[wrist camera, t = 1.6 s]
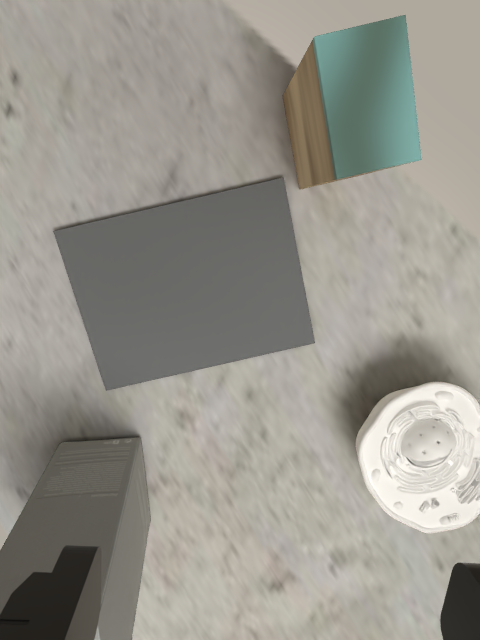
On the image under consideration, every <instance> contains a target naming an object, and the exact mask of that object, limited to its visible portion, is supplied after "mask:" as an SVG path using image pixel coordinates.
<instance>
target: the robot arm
mask: <svg viewBox="0 0 480 640" xmlns="http://www.w3.org/2000/svg"><path fill="white" fill-rule="evenodd" d="M101 561H102V551H101V547H97V546H73V545H66V546H65V547H64V548H63V549H62V551H61V553H60V555H59V558H58V560H57V562H56V564H55V566H54V569H53V571H52V573H49V572H33V573H32V574H31V575H30V576H29V577H28V578H27V579H26V580H25V581H24V582H23V583H22V584H21V585H20V586H19V587H18V588H17V589H16V590H15V591H13V592H12V594H11V595H10V597H9V599H8V601H7V603H6V605H5V607H4V608H3V610H2V612H1V614H0V640H94V639H95V635H96V631H97V626H98V621H99V614H100V606H101ZM440 622H441V631H442V636H443V640H480V564H477V563H457V564H455V565H454V567H453V570H452V573H451V577H450V581H449V585H448V589H447V593H446V597H445V600H444V604H443V608H442V612H441V619H440Z"/></svg>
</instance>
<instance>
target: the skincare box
mask: <svg viewBox="0 0 480 640" xmlns="http://www.w3.org/2000/svg"><path fill="white" fill-rule="evenodd" d="M150 521H151V519H150V510H149V501H148V493H147V484H146V476H145V467H144V459H143V451H142V444H141V438H139V437H138V438H121V439H110V440H96V441H81V442H63V443H60V444H59V446H58V447H57V449H56V451H55V453H54V455H53V456H52V458H51V460H50V462H49V464H48V466H47V467H46V469H45V471H44V473H43V475H42V477H41V478H40V480H39V482H38V484H37V485H36V487H35V489H34V491H33V493H32V495H31V496H30V498H29V500H28V502H27V503H26V505H25V507H24V509H23V511H22V512H21V514H20V516H19V518H18V520H17V521H16V523H15V525H14V527H13V529H12V530H11V532H10V534H9V536H8V538H7V539H6V541H5V543H4V545H3V547H2V549H1V550H0V614H1V612H2V610H3V608H4V607H5V605H6V603H7V601H8V599H9V597H10V595H11V594H12V592H13V591H15V590H16V589H17V588H18V587H19V586H20V585H21V584H22V583H23V582H24V581H25V580H26V579H27V578H28V577H29V576H30V575H31V574H32V573H33V572H49V573H52V571H53V569H54V566H55V564H56V562H57V560H58V558H59V555H60V553H61V551H62V549H63V548H64V547H65V546H66V545H73V546H97V547H101V551H102V561H101V606H100V614H99V621H98V626H97V631H96V635H95V639H94V640H132V633H133V627H134V621H135V615H136V608H137V602H138V596H139V589H140V583H141V576H142V570H143V563H144V557H145V550H146V544H147V537H148V531H149V526H150Z"/></svg>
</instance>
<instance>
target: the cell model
mask: <svg viewBox="0 0 480 640" xmlns="http://www.w3.org/2000/svg"><path fill="white" fill-rule="evenodd" d="M356 452H357V456H358V461H359V465H360V468H361V471H362V475H363V479H364V483H365V485H366V487H367V489H368V490H369V492H370V493H371V495H372V496H373V497H374V499H375V500H376V501H377V503H378V504H379V505H380V507H381V508H382V509H383V510H384V511H385V512H386V513H387V514H388V515H389V516H391V517H392V518H394V519H395V520H397V521H399V522H401V523H403V524H405V525H408V526H410V527H412V528H414V529H416V530H418V531H420V532H423V533H437V532H443V531H449V530H454V529H457V528H461V527H463V526H465V525H467V524H469V523H471V522H472V521H473V520H474V519H475V518H476V517H477V516H478V515H479V514H480V404H479V403H478V401H477V400H476V398H475V397H474V396H473V395H472V394H471V393H469V392H468V391H467V390H465V389H464V388H462V387H460V386H457V385H454V384H450V383H445V382H429V383H425V384H422V385H419V386H416V387H411V388H406V389H402V390H398V391H394V392H392V393H390V394H388V395H386V396H385V397H383V398H382V399H381V400H380V401H379V402H378V403H377V404H376V406H375V407H374V408H373V410H372V411H371V413H370V414H369V416H368V418H367V419H366V421H365V422H364V424H363V425H362V427H361V428H360V430H359V432H358V435H357V438H356Z"/></svg>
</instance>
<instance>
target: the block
mask: <svg viewBox="0 0 480 640" xmlns="http://www.w3.org/2000/svg"><path fill="white" fill-rule="evenodd" d="M283 101H284V107H285V112H286V118H287V123H288V129H289V134H290V140H291V145H292V151H293V156H294V162H295V167H296V173H297V178H298V184H299V189H304V188H308V187H312V186H317V185H321V184H325V183H329V182H334V181H338V180H342V179H347V178H351V177H355V176H359V175H363V174H367V173H371V172H375V171H379V170H383V169H387V168H391V167H395V166H399V165H403V164H407V163H411V162H415V161H419V160H421V150H420V141H419V132H418V123H417V115H416V105H415V96H414V87H413V78H412V69H411V60H410V52H409V42H408V33H407V24H406V16H405V15H403V16H399V17H394V18H390V19H386V20H382V21H378V22H373V23H369V24H365V25H361V26H357V27H352V28H348V29H344V30H340V31H336V32H331V33H327V34H323V35H319V36H315V37H314V38H313V40H312V42H311V44H310V46H309V47H308V50H307V51H306V53H305V55H304V57H303V59H302V61H301V63H300V64H299V66H298V68H297V70H296V72H295V74H294V76H293V77H292V79H291V81H290V83H289V85H288V87H287V89H286V91H285V92H284V94H283Z"/></svg>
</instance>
